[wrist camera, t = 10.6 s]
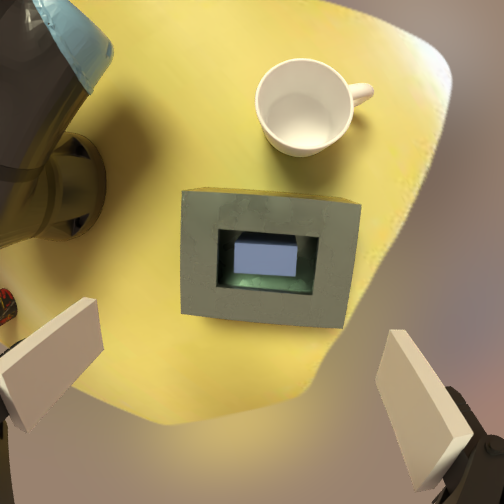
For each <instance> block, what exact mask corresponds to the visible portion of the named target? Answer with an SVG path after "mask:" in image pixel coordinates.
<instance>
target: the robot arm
mask: <svg viewBox="0 0 504 504" xmlns="http://www.w3.org/2000/svg"><path fill="white" fill-rule="evenodd" d="M113 56H114V48H113V45H112V43H111V41H110V40H109V39H108V37H107V36H106V35H105V34H104V33H103V32H102V31H101V30H100V29H99V28H98V27H97V26H96V25H95V24H94V23H93V22H92V21H91V20H90V19H89V18H88V17H87V16H85V15H84V14H83V13H82V12H81V11H80V10H79V9H78V8H77V7H75V6H74V5H73V4H72V3H71V2H70V1H68V0H0V249H1V248H4V247H7V246H9V245H12V244H15V243H18V242H21V241H24V240H27V239H30V238H33V237H34V238H40V239H46V240H52V241H66V240H70V239H73V238H75V237H78V236H80V235H82V234H84V233H85V232H87V231H88V230H89V229H90V228H91V227H92V226H93V224H94V223H95V221H96V220H97V218H98V216H99V214H100V212H101V210H102V207H103V203H104V199H105V194H106V174H105V168H104V164H103V161H102V158H101V156H100V154H99V152H98V150H97V149H96V147H95V146H94V145H93V143H92V142H91V141H90V140H88V139H87V138H86V137H84V136H82V135H79V134H76V133H69V132H65V130H66V128H67V127H68V125H69V123H70V122H71V120H72V119H73V117H74V116H75V114H76V113H77V111H78V110H79V108H80V107H81V106H82V104H83V103H84V101H85V100H86V98H87V97H88V96H89V95H91V94H92V93H93V91H94V90H93V88H94V87H95V85H96V84H97V82H98V81H99V79H100V78H101V76H102V75H103V73H104V72H105V71H106V69H107V68H108V66H109V65H110V64H111V62H112V59H113ZM103 350H104V347H103V341H102V335H101V329H100V322H99V314H98V307H97V299H92V298H87V297H83V298H82V299H80V300H79V301H77V302H76V303H74V304H73V305H72V306H70V307H69V308H67V309H66V310H64V311H63V312H62V313H60V314H59V315H57V316H56V317H55V318H53V319H52V320H50V321H49V322H48V323H46V324H45V325H43V326H42V327H41V328H39V329H38V330H37V331H35V332H34V333H33V334H31V335H30V336H28V337H27V338H25V339H23V340H20V341H18V342H17V343H15V344H14V345H13V346H11V347H10V349H7V350H6V351H5V352H4V354H3V353H2V354H1V355H0V504H15V503H14V498H13V490H12V483H11V474H10V464H9V450H8V426H7V423H6V421H5V419H6V417H8V415H9V416H10V418H11V420H12V422H13V424H14V426H15V427H17V428H19V429H20V430H22V431H24V432H26V433H28V434H29V433H30V431H31V430H32V429H33V428H34V427H35V426H36V424H37V423H38V422H39V421H40V420H41V419H42V418H43V416H44V415H45V414H46V413H47V412H48V411H49V410H50V408H51V407H52V406H53V405H54V404H55V403H56V402H57V400H58V399H59V398H60V397H61V396H62V395H63V394H64V393H65V392H66V391H67V389H68V388H69V387H70V386H71V385H72V384H73V383H74V382H75V381H76V379H77V378H78V377H79V376H80V375H81V374H82V373H83V372H84V371H85V370H86V369H87V367H88V366H89V365H90V364H91V363H92V362H93V361H94V360H95V359H96V358H97V357H98V356H99V354H100V353H101V352H102V351H103ZM375 383H376V385H377V388H378V390H379V393H380V396H381V398H382V401H383V403H384V406H385V409H386V411H387V414H388V416H389V419H390V422H391V424H392V427H393V430H394V432H395V435H396V438H397V441H398V444H399V446H400V449H401V452H402V455H403V458H404V460H405V464H406V467H407V470H408V472H409V475H410V479H411V482H412V485H413V488H414V491H415V492H421V491H425V490H430V489H434V488H435V487H436V486H437V485H438V483H439V482H440V481H441V479H442V478H443V480H444V482H445V485H446V486H445V487H444V488H443V490H442V491H441V492H440V493H439V494H438V495H437V497H436V498H435V499H434V500H433V501H432V504H434V503H435V502H436V503H435V504H504V439H503V438H501V437H499V436H496V435H487V433H486V432H485V431H484V429H483V427H482V426H481V424H480V423H479V421H478V420H477V418H476V417H475V415H474V413H473V412H472V411H471V409H470V407H469V406H468V404H466V402H465V400H464V398H463V397H462V395H461V394H460V393H459V392H458V391H456V390H455V389H454V388H452V387H451V386H449V387H444V385H443V384H442V382H441V381H440V379H439V378H438V377H437V375H436V373H435V372H434V371H433V369H432V368H431V366H430V365H429V363H428V362H427V360H426V359H425V357H424V356H423V354H422V353H421V352H420V350H419V349H418V347H417V346H416V345H415V343H414V342H413V340H412V339H411V338H410V336H409V335H408V334H407V332H406V331H405V330H389V334H388V338H387V341H386V345H385V349H384V352H383V355H382V359H381V362H380V365H379V369H378V372H377V375H376V378H375Z"/></svg>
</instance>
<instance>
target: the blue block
mask: <svg viewBox="0 0 504 504" xmlns="http://www.w3.org/2000/svg"><path fill="white" fill-rule="evenodd" d="M297 247H298V246H297V242H296V237H295V235H287V234H269V233H250V232H242V233H241V235H240V236H239V237H238V239H237V240H236V242H235V250H234V273H244V274H261V275H277V276H295V274H296V261H297Z"/></svg>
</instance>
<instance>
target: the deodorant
mask: <svg viewBox="0 0 504 504" xmlns="http://www.w3.org/2000/svg"><path fill="white" fill-rule="evenodd" d="M16 314H17V305H16V302H15V299H14V297H13V296H12V294H11V293H10V292H9V291H8V290H7V289H5V288H2V289H0V326H1V325H3V324H4V323H6V322H8V321H9V320H11V319H12V318H14V317H15V316H16Z"/></svg>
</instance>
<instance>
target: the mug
mask: <svg viewBox="0 0 504 504" xmlns="http://www.w3.org/2000/svg"><path fill="white" fill-rule="evenodd" d="M373 94H374V89H373V87H372V86H371V85H369V84H367V83H356V84H351V85H348V84H347V83H346V81H345V80H344V78H343V77H342V76H341V75H340V74H339V73H338V72H337V71H336V70H334V69H333V68H332V67H330V66H328V65H326V64H324V63H322V62H319V61H316V60H312V59H305V58H298V59H291V60H287V61H284V62H282V63H279V64H278V65H276V66H274V67H273V68H271V69H270V70H269V71H268V72H267V73H266V74H265V75H264V76H263V78H262V79H261V81H260V83H259V85H258V87H257V90H256V94H255V108H256V113H257V116H258V119H259V122H260V124H261V127H262V129H263V132H264V134H265V136H266V138H267V139H268V141H269V142H270V143H271V145H272V146H274V147H275V148H276V149H277V150H279V151H280V152H282V153H284V154H287V155H289V156H294V157H307V156H311V155H314V154H317V153H319V152H320V151H322V150H324V149H325V148H327V147H328V146H330V145H331V144H333V143H334V142H336V141H337V140H338V139H340V138H341V137H342V136H343V135H344V133H345V132H346V131H347V129H348V127H349V126H350V124H351V121H352V118H353V113H354V107H356V106H358V105H360V104H362V103H364V102H365V101H367V100H369V99H370V98H371V97H372V96H373Z"/></svg>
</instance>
